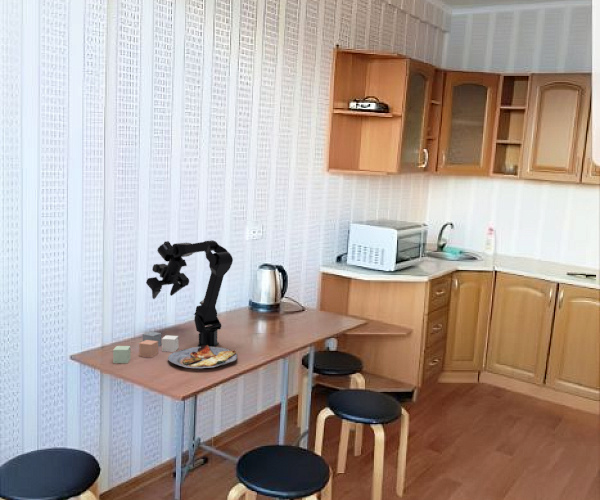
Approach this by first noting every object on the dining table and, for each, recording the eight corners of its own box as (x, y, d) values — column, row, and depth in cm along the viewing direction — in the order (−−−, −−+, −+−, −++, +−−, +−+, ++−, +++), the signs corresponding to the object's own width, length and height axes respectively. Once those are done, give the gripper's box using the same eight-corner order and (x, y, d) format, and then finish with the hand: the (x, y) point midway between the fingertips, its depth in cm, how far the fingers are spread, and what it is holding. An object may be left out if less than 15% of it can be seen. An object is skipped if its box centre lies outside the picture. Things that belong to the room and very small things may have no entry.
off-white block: (178, 348, 242) (178, 336, 241) (174, 352, 237) (174, 339, 236) (165, 347, 242) (165, 335, 242) (161, 351, 238) (161, 338, 237)
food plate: (207, 347, 244) (207, 338, 243) (250, 360, 229) (250, 351, 229) (155, 363, 225) (155, 353, 224) (198, 378, 210) (198, 368, 210)
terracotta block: (158, 354, 234) (158, 341, 233) (151, 357, 229) (151, 344, 229) (146, 352, 235) (146, 339, 235) (139, 356, 231) (139, 343, 230)
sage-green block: (130, 359, 227) (130, 346, 226) (127, 363, 222) (127, 350, 221) (116, 359, 227) (116, 345, 226) (113, 363, 222) (113, 349, 221)
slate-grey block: (161, 345, 245) (161, 333, 245) (152, 348, 241) (152, 336, 240) (151, 343, 248) (151, 331, 247) (142, 346, 243) (142, 334, 243)
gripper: (180, 254, 270) (169, 281, 277) (144, 259, 255) (133, 287, 263) (195, 270, 264) (183, 298, 271) (159, 275, 250) (147, 304, 257)
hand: (162, 296), depth 266 cm, fingers open, 9 cm apart
